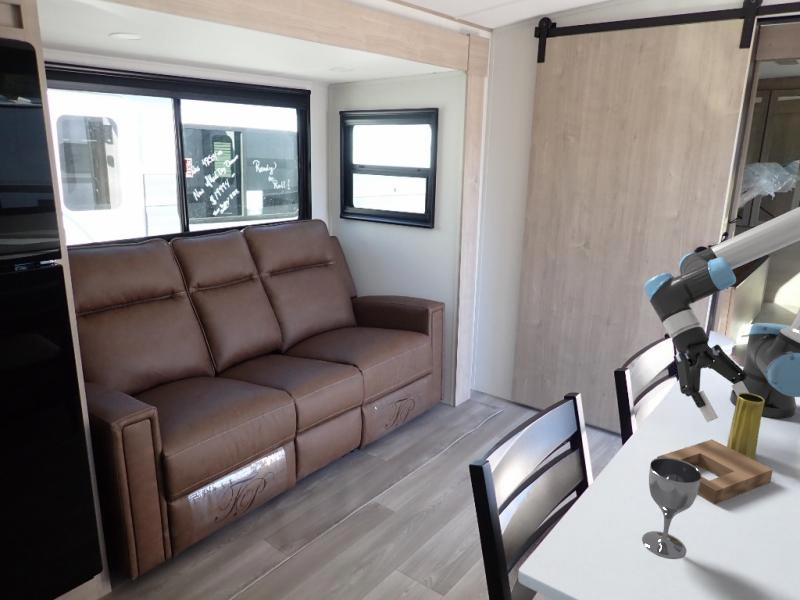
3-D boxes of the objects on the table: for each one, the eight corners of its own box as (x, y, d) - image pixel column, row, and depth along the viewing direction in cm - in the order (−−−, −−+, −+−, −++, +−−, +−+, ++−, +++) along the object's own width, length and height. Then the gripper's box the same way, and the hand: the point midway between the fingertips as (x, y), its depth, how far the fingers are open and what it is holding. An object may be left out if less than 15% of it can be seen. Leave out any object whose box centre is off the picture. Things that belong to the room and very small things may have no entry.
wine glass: (667, 565, 96) (680, 487, 92) (629, 537, 103) (640, 463, 99) (698, 551, 100) (712, 475, 96) (660, 525, 107) (671, 453, 103)
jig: (709, 450, 133) (711, 439, 132) (770, 482, 121) (772, 469, 120) (655, 468, 125) (657, 456, 124) (713, 504, 113) (716, 490, 112)
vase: (760, 463, 128) (771, 404, 124) (730, 459, 129) (741, 401, 125) (749, 449, 134) (760, 393, 130) (721, 446, 135) (731, 390, 131)
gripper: (708, 333, 148) (754, 410, 139) (638, 346, 138) (682, 430, 129) (731, 319, 142) (780, 399, 133) (660, 331, 132) (708, 419, 123)
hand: (732, 414), depth 131 cm, fingers open, 13 cm apart
